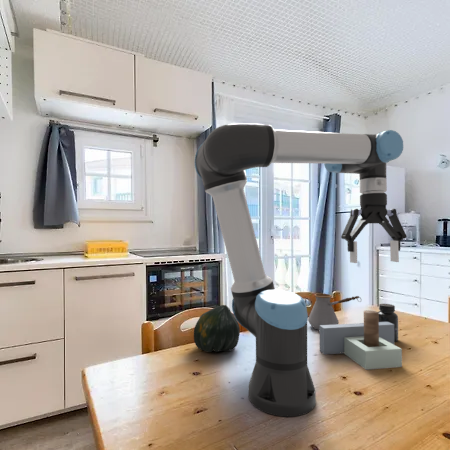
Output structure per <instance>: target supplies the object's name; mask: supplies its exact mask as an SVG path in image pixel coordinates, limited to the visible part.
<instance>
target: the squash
mask: <svg viewBox="0 0 450 450" xmlns="http://www.w3.org/2000/svg"><path fill="white" fill-rule="evenodd" d="M240 330H241V329H240V324H239V322H238V321H237V320H236V318H235V316H234V314H233V311H232V310H231V309H230V308H229V307H228V306H227V305H226V304H221V305H218V306H216V307H213V308H211V309H209V310H208V311H206V312H204V313H203V314H201V315H200V316H199V318H198V319H197V321H196V323H195V326H194V327H193V341H194V344H195V346H196V347H197V349H199V350H201V351H204V352H206V353H212V352H213V351H215V352H217V353H219V352H224V351H226V352H228V351H229V352H230V351H232V350H235V348H236V347H237V346H238V343H239V339H240V335H241V334H240V333H241V331H240Z"/></svg>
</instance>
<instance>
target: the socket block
mask: <svg viewBox="0 0 450 450" xmlns="http://www.w3.org/2000/svg"><path fill="white" fill-rule="evenodd" d="M343 354H344V355H346V356H347V357H348V358H350V359H351V360H352V361H354V362H355V363H356V364H358V365H359V366H360V367H362V368H363V369H364V370H377V369H378V370H379V369H390V368H402V367H403V350H402V348H401V347H399V346H397V345H395V343H394V344H392V343H390V342H388V341H386V340H384V339H382V338H380V337H379V347H367V346H366V345H364V336H360V337H344V353H343Z"/></svg>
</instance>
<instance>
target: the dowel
mask: <svg viewBox="0 0 450 450" xmlns="http://www.w3.org/2000/svg"><path fill="white" fill-rule="evenodd" d="M378 312H379V311H375V310H369V309H368V310H363V323H364V345H366V346H367V347H379V313H378Z"/></svg>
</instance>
